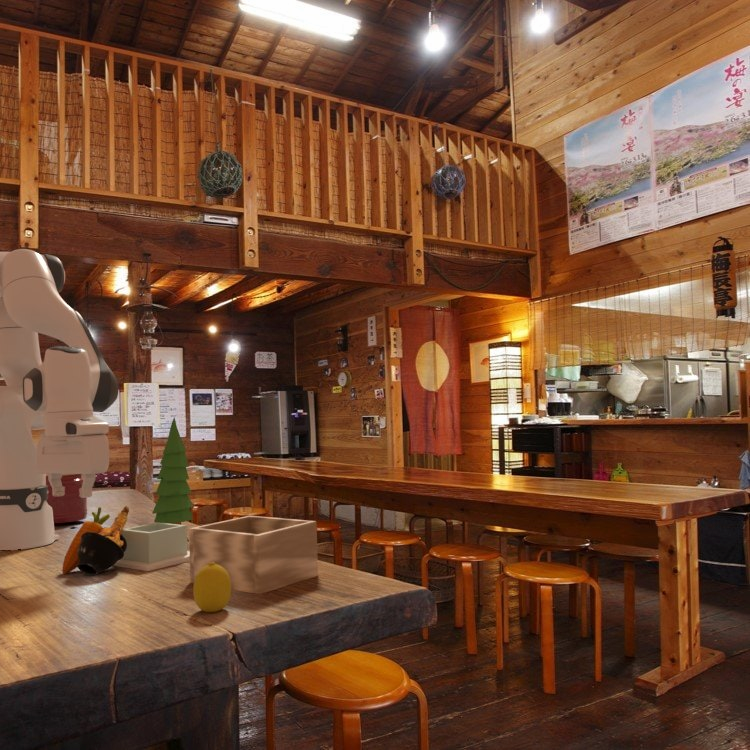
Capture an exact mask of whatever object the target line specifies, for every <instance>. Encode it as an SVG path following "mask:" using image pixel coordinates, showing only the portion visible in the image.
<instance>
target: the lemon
mask: <svg viewBox="0 0 750 750" xmlns="http://www.w3.org/2000/svg"><path fill="white" fill-rule="evenodd" d="M192 591H193V599H194V601H195V604H196V606H197V607H198V608H199V609H200V610H201V611H203V612H205V613H217V612H219V611H221V610H223V609H224V608H225V607H226V606H227V604H228V603H229V602H230V598H231V594H232V589H231V581H230V577H229V575H228V572H227V571H226V570H225V569H224V568H223V567H222V566H220V565H217V564H215V563H214V562H210V563H209V564H208V565H206V566H204V567H203V568H202V569H201V570H200V571H199V572H198V573H197V575H196V577H195V581H194V583H193V590H192Z"/></svg>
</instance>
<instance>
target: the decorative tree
mask: <svg viewBox="0 0 750 750" xmlns="http://www.w3.org/2000/svg"><path fill="white" fill-rule="evenodd" d="M178 429H179V428H178V426H177V421H176V418H175V416H174V417H173V419H172V422H171V425H170V428H169V433H168V437H167V441H166V444H165V446H164V450H163V453H162V454H163V455H162V457H161V461H160V462H159V464H160V465H161V467H160V470H159V473H158V476H157V480H160V481H159V484H158V486H157V488H156V491H155V495H157V496H158V498H157V501H156V504H155V505H154V508H153V510H152V512H151V514H152V515H153V514H156V515H155V518H154V520H153V521H154V522H153V523H157V522H159V523H169V524H179V525H183V524H182V523H185V522H187V521H192V520H194V516H193V514H192V512H191V509H190V508H194V507H195V506H194V504H193V502H192V500H191V499H190V497H189V495H190V494H192V493H193V491H192V490H191V488H190V485H189V484H188V481H187V480H190V476H189V473H188V469H187V468H189V467H190V465H189V462H188V458H187V455H186V451H187V448H186V446H185V444H184V442H183V440H182V438H181V436H180V432H179V430H178ZM188 494H189V495H188ZM187 542H189V537H187Z"/></svg>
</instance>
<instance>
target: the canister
mask: <svg viewBox="0 0 750 750" xmlns="http://www.w3.org/2000/svg"><path fill="white" fill-rule="evenodd" d="M60 479H61V483H62V487H65V491H64V492H65V495H64V496H53V493H52V487H51V484H50V482H49V480H48V474H46V485H47V486H48V499H47V500H46V501H47V503H48V505H49V506H51V507H52V511H53V521H54V524H64V523H66V524H67V523H72V522H79V521H83V520H85V519H87V516H88V508H87V507H88V506H87V505H88V503H87V501H88V500H87V499H88V497H87V498H83V497H80V495H79V494H80V492H79V489H80V488H82V484H83V480H82V477H81V474H62V478H60Z"/></svg>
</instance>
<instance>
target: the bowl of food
mask: <svg viewBox="0 0 750 750" xmlns="http://www.w3.org/2000/svg"><path fill="white" fill-rule="evenodd" d="M129 513H130V508H129V507H128V506H127V505H125V506H124V507H123V508H122V510H121V512H118V514H117V516H116V517H115V518H114V522H113V523H112V525H110V527H105V526H104V527H103V529H102V530H101V531H100V533H93V532H86V533H84V534H82V536H81V543H80V545H79V548H78V558H79V564H78V565H77V569H78V570H79V571H81V573H82V574H84V575H85V576H96V575H97V574H99V573H100V572H105V571H107V570H109V569H110V568H112V567H114V566H113V565H114V564H115V563H116V562H117V561H118V560H120V559H122V558H123V557H124V552H125V551H126V549H127V542H126V539H125V538H124V537H123V536H122V534H121V533H122V530H123V529H125V528H124V527H125V526H126V523H127V521H128V514H129Z"/></svg>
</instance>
